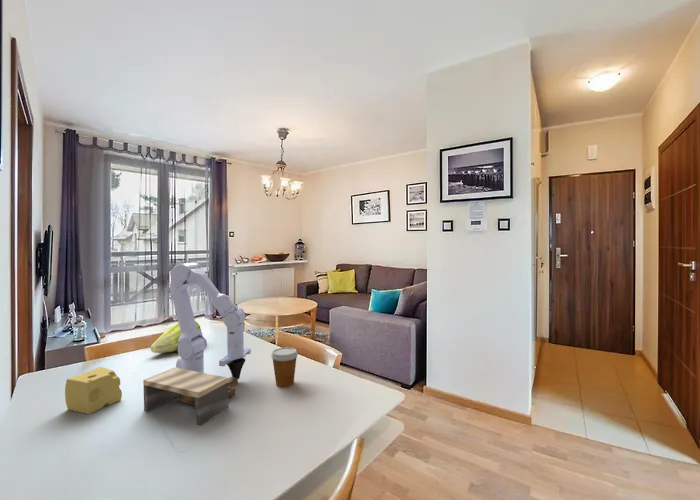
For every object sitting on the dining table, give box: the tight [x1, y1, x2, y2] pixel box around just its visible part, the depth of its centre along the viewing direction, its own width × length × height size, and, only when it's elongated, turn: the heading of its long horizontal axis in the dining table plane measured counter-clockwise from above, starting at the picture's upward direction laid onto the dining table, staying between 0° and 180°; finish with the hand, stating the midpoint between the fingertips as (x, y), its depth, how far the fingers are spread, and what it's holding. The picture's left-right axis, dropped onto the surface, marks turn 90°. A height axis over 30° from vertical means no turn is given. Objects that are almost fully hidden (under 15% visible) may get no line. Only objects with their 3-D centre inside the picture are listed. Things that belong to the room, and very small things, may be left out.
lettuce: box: [150, 320, 202, 354], centre depth 159 cm, size 15×24×14 cm, turn 153°
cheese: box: [64, 366, 123, 415], centre depth 105 cm, size 10×11×10 cm
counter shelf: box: [143, 367, 229, 427], centre depth 102 cm, size 23×11×10 cm, turn 67°
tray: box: [177, 376, 239, 406], centre depth 113 cm, size 15×18×2 cm
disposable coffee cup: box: [270, 346, 298, 388], centre depth 120 cm, size 10×10×12 cm
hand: (236, 378), depth 122 cm, fingers closed
